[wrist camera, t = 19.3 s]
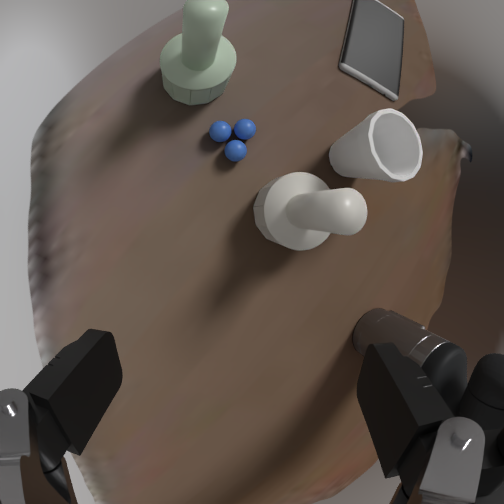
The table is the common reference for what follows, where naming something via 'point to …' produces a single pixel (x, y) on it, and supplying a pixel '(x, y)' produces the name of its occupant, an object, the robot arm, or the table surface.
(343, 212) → the white joystick
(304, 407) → the table surface
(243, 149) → the marble
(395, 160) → the foam cup
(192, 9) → the pale green pedestal post
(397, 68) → the smartphone
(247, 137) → the marble
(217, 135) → the marble
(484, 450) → the robot arm
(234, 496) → the table surface
